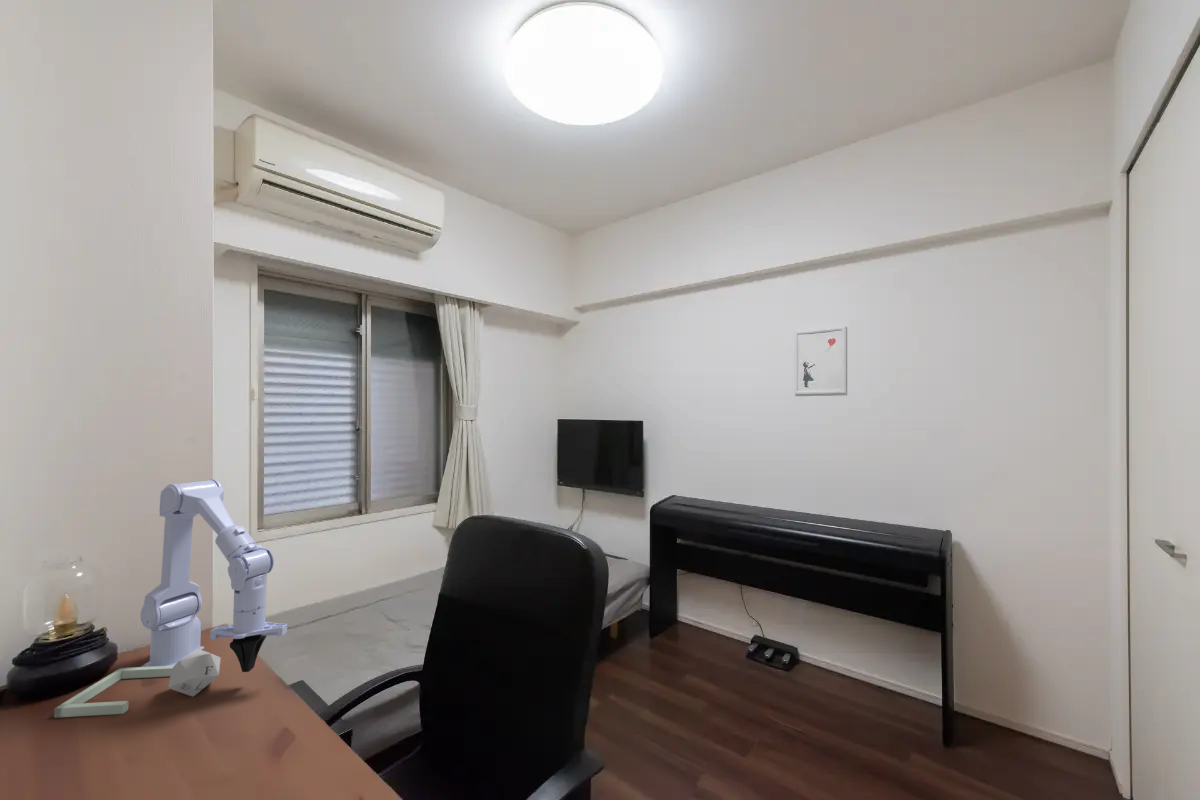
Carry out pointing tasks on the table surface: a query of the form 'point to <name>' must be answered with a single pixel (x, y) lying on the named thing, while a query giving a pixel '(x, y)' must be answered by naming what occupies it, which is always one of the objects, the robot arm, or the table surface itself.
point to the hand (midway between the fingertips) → (248, 669)
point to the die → (194, 672)
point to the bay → (80, 708)
